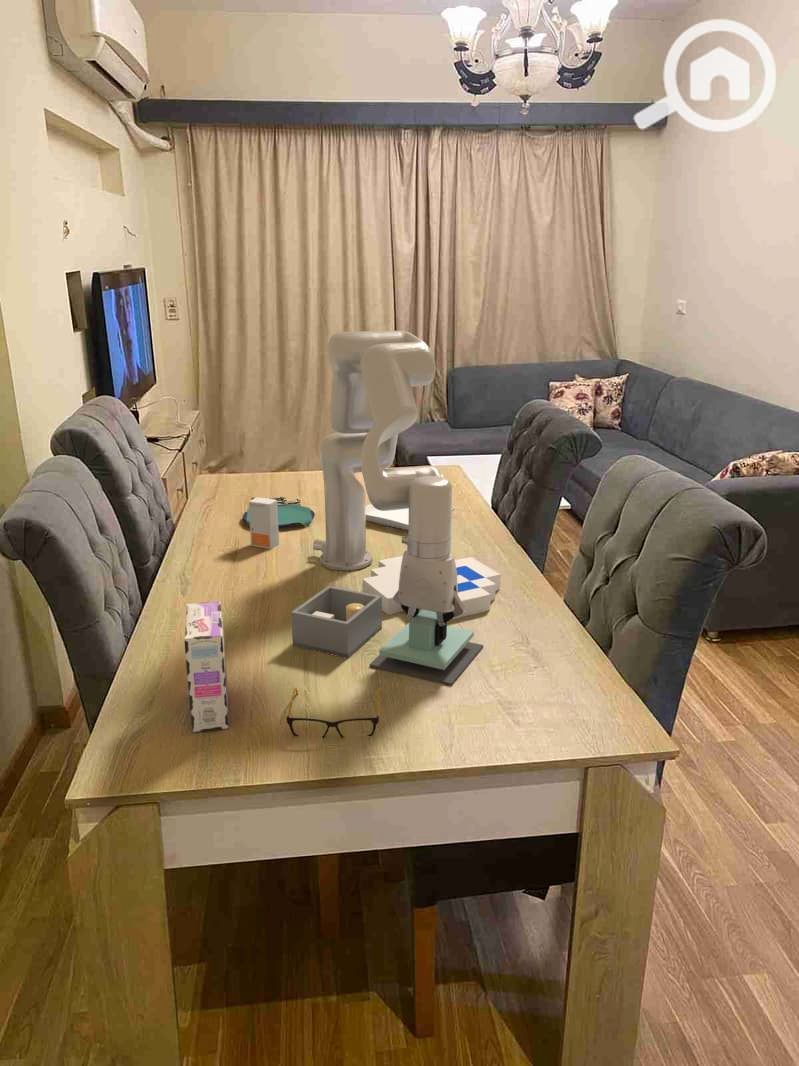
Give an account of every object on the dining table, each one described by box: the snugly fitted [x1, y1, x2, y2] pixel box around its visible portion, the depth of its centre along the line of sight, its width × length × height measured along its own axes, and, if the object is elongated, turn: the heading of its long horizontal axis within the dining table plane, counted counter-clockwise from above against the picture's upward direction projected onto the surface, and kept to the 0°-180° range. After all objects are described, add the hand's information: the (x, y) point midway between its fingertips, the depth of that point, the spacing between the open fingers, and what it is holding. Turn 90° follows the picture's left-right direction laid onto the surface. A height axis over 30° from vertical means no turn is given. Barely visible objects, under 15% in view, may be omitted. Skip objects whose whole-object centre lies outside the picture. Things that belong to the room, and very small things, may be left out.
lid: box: [379, 610, 475, 670], centre depth 150 cm, size 13×15×6 cm
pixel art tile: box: [361, 555, 501, 620], centre depth 180 cm, size 28×4×28 cm
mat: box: [369, 641, 484, 687], centre depth 152 cm, size 16×16×1 cm
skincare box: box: [248, 496, 280, 550], centre depth 206 cm, size 6×4×12 cm
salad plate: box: [365, 503, 456, 531], centre depth 228 cm, size 21×21×3 cm
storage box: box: [290, 585, 383, 659], centre depth 159 cm, size 12×14×7 cm
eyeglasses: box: [285, 687, 381, 739], centre depth 133 cm, size 14×14×4 cm
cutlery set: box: [242, 496, 316, 528], centre depth 232 cm, size 20×30×2 cm, turn 9°
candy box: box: [184, 600, 230, 733], centre depth 132 cm, size 14×6×16 cm, turn 12°
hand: (428, 638), depth 151 cm, fingers closed on lid, 4 cm apart
